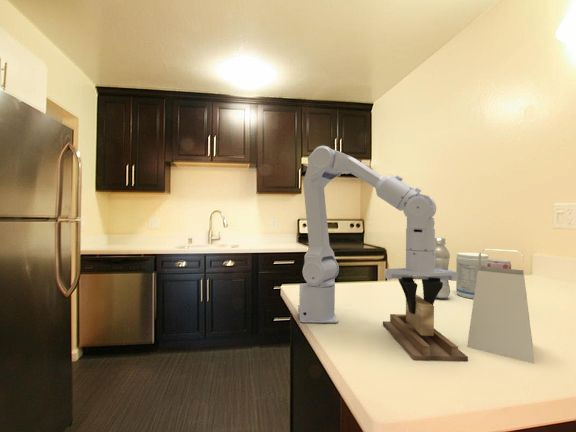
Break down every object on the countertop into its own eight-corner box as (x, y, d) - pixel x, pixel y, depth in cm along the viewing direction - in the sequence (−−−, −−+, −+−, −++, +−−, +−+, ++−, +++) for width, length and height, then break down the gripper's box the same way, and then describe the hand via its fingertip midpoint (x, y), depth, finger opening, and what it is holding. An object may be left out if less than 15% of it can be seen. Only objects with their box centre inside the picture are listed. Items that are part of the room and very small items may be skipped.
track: (413, 360, 54) (413, 345, 54) (382, 324, 72) (382, 314, 72) (467, 361, 54) (467, 346, 54) (423, 325, 72) (423, 314, 72)
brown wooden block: (420, 335, 59) (421, 305, 59) (405, 320, 68) (405, 294, 68) (434, 335, 58) (434, 305, 59) (417, 320, 67) (417, 294, 68)
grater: (474, 332, 68) (474, 246, 68) (532, 344, 61) (533, 250, 61) (467, 346, 60) (467, 249, 60) (533, 363, 53) (534, 254, 53)
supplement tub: (462, 291, 107) (462, 251, 107) (492, 297, 100) (493, 254, 100) (451, 295, 101) (451, 253, 101) (483, 301, 94) (483, 256, 94)
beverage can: (500, 315, 80) (500, 261, 80) (481, 309, 85) (482, 258, 85) (516, 314, 81) (516, 260, 81) (496, 308, 87) (496, 258, 87)
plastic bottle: (453, 301, 94) (453, 239, 94) (430, 299, 95) (431, 238, 95) (446, 296, 100) (446, 238, 100) (425, 294, 101) (425, 237, 101)
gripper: (445, 248, 66) (445, 308, 66) (381, 247, 67) (380, 306, 67) (462, 252, 59) (461, 318, 59) (390, 250, 60) (389, 316, 60)
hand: (419, 312), depth 63 cm, fingers closed on brown wooden block, 3 cm apart
